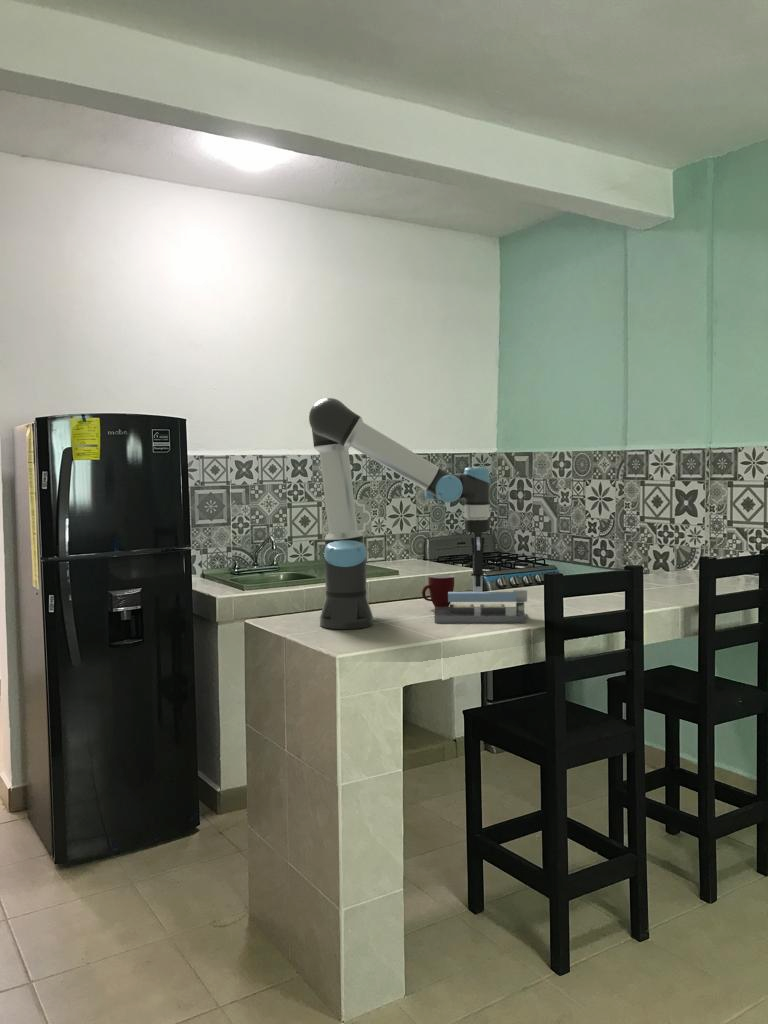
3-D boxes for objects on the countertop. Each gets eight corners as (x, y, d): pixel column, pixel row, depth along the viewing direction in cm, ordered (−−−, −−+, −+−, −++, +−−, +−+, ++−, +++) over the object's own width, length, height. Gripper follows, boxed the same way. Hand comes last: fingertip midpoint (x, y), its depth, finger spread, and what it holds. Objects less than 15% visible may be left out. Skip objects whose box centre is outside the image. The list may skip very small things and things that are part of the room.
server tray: (434, 622, 240) (434, 607, 240) (434, 613, 255) (434, 598, 255) (527, 622, 238) (527, 607, 238) (521, 613, 253) (521, 598, 253)
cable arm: (526, 599, 247) (526, 589, 247) (527, 602, 243) (527, 591, 243) (448, 599, 249) (448, 589, 249) (448, 602, 245) (448, 592, 245)
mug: (430, 611, 257) (430, 579, 257) (417, 608, 264) (416, 576, 264) (459, 608, 262) (459, 576, 262) (445, 604, 269) (445, 573, 269)
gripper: (491, 520, 245) (491, 600, 246) (488, 517, 258) (489, 593, 259) (465, 520, 245) (466, 600, 247) (464, 517, 258) (464, 593, 260)
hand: (477, 596), depth 253 cm, fingers closed
